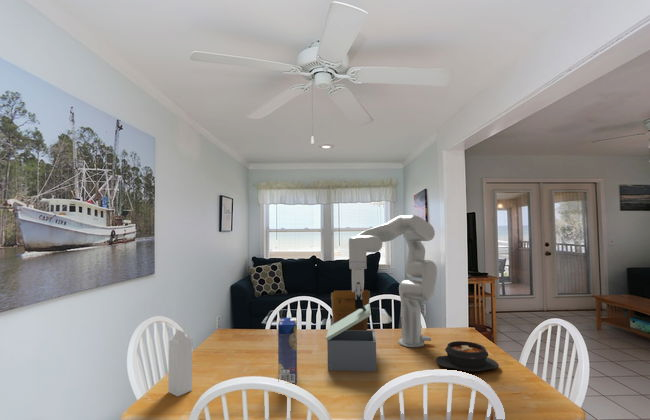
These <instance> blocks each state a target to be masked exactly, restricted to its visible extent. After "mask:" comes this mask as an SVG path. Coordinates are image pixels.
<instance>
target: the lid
mask: <svg viewBox="0 0 650 420" xmlns="http://www.w3.org/2000/svg"><path fill="white" fill-rule="evenodd" d="M362 299H363V298H362ZM370 316H372V314H371V305H370V303H369V304H367V305H365V306H364V305H363V309H358V310H357V311H355V312H353V313H352V314H350V315H348V316H346V317H345V318H343V319H341V320H340V321H338V322H336V323H335V324H334V323H333V324H331V325H329V326H328V330H327V334H326V336H325V340H326V342H327V341H328V340H329V339H331V338H333V337H335V336H336V335H338V334H340V333H341V332H343V331H345V330H347V329H348V328H350V327H352V326H353V325H355V324H357V323H359V322H360V321H362V320H364V319H365V318H367V317H368V318H369V317H370Z"/></svg>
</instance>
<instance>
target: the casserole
mask: <svg viewBox="0 0 650 420" xmlns="http://www.w3.org/2000/svg"><path fill="white" fill-rule="evenodd" d="M444 351H445V352H446V355H441V356H440V355H439V356H437V357H436V358H435V362H436V363H437V364H438V365H440V366H442V367H443V368H447V369H454V370H455V369H456V370H459V371H462V372H470V373H471V372H472V373H473V372H476V373H477V372H482V371H486V370H493V369H497V368H499V367H500V366H499V363H498V361H496V360H495V359H493V358H492V357H491V358H490V357H488V356H489V353H488V351H487V349H486V348H485V346H483V345H482V344H478V343H476V342H471V341H465V340H464V341H463V340H461V341H459V340H457V341H451V342H449V343H448V344H447V345H446V348H445V349H444Z"/></svg>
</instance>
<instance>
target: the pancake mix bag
mask: <svg viewBox="0 0 650 420" xmlns="http://www.w3.org/2000/svg"><path fill="white" fill-rule="evenodd" d="M370 294H371V291H370V290H368V289H363V292H362V298H363V305H364V306H365V305H367V304H369V305H370V296H371V295H370ZM355 296H356V295H355V292H352V289H346V290H333V292H331V293H330V299H331V314H332V321H333V324H335V323H336V322H338V321H340V320H341V319H343V318H345V317H346V316H348V315H350V314H352V313H353V312H355V311H357V310H358V309H355ZM368 320H369V317H367V318H365V319H364V320H362V321H360V322H359V323H357V324H355V325H353V326H352V327H350V328H348V329H347V330H368Z"/></svg>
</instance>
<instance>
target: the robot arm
mask: <svg viewBox="0 0 650 420" xmlns="http://www.w3.org/2000/svg"><path fill="white" fill-rule="evenodd" d="M435 234H436V233H435V228H434V226H433V224H431V223H429V222H427V221H426V219H424V218H422V217H420V216H419V215H416V214H404V215H403V214H401V215H398V216H395V217H394V218H392V219H391V220H389V221H387V222H385V223H384V224H380V225H378V226H375V227H372V228H368V229H366V230H363V231H362V232H360V233H358V234H357V235H356V236H350V237H349V239H348V259H349V260H348V263H349V264H348V265H349V269H350V270H351V290H352V292H355V295H356V296H355V309H363V299H362V292H363V290H365V289H364V288H365V270H366V269H368V268H367V267H368V266H367V263H368V262H367V253H378V252H379V251H381V249H382V248H383V243H386V242H391V241H393V240H395V239H396V238H398V237H400V236H401V235H402V236H403V238H404V239H405V240H404V241H405V242H406V244H407V247H408V252H407V258H406V264H405V274H406V275H407V277H409V278H412V279H405V280H401V282H400V283H399V286H398V292H399V293H398V294H399V300H400V305H401V306H400V311H401V313H400V315H401V316H400V317H401V321H400V322H401V338H399V339H398V344H399V345H400V346H402V347H407V348H421V347H424V345H425V341H426V342H431V341H432V337H431V336H428V335H422V315H421V314H422V311H421V305H420V303H419V302H424V303H428V302H431V301H432V300H433V298H434V294H435V289H436V288H435V287H436V282H437V275H438V269H437V265H436V263H435V262H434V261H433V260H429V259H425V258H426V257H425V256H426V249H425V246H424V244H423V243H422V242H429V241H433V239H434V238H435ZM414 279H420V280H414ZM421 280H422V281H421Z"/></svg>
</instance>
